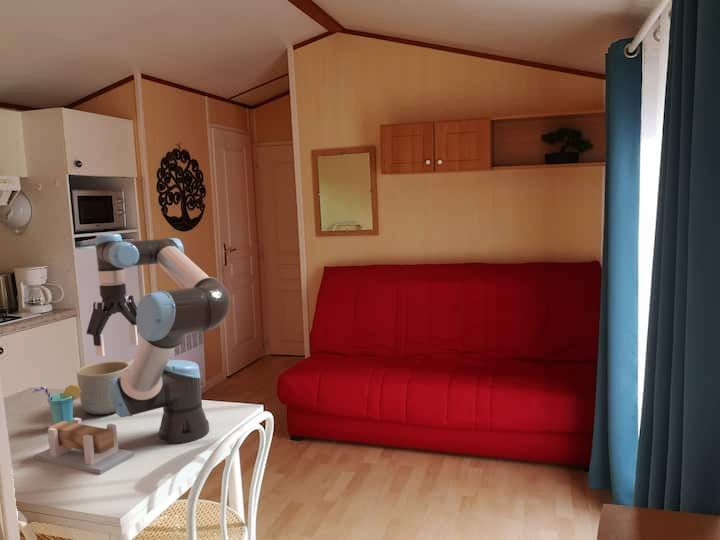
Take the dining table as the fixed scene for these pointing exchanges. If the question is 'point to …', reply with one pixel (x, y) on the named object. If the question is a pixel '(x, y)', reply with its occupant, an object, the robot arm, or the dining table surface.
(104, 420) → the dining table surface
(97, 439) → the rail
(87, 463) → the bracket board
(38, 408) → the dining table surface
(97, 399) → the planter
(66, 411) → the cup
